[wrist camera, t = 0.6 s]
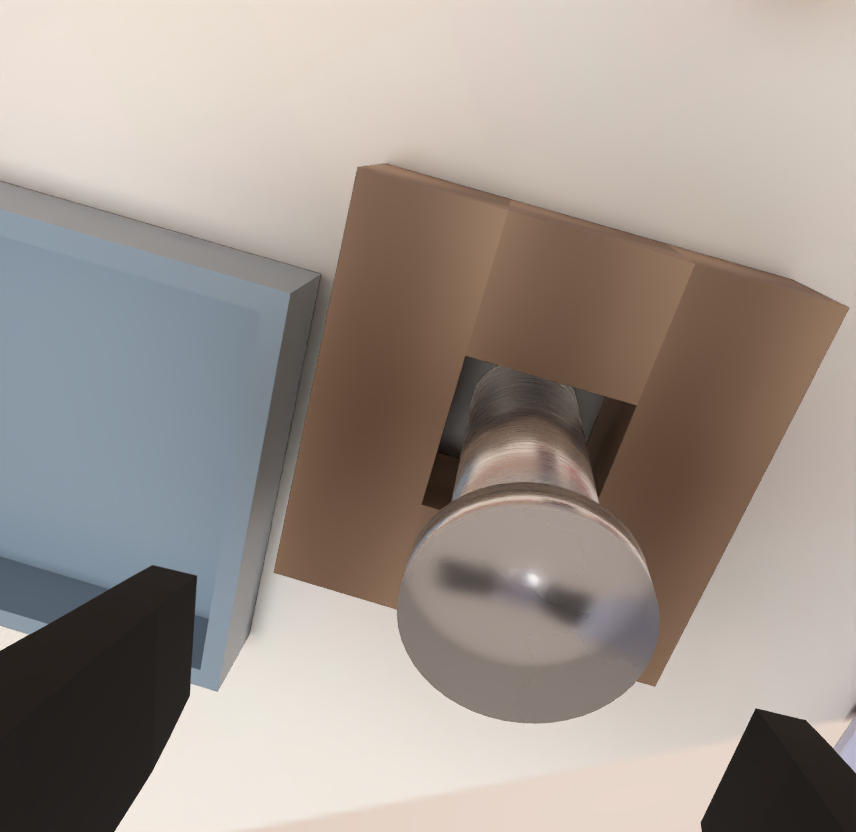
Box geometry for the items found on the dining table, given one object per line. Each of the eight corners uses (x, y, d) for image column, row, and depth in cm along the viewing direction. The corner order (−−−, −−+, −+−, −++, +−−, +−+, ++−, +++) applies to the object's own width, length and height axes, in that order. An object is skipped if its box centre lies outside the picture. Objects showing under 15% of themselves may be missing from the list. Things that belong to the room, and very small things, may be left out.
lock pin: (618, 363, 17) (703, 555, 9) (568, 491, 19) (605, 751, 11) (474, 322, 18) (433, 475, 9) (436, 451, 19) (372, 681, 11)
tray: (320, 273, 18) (290, 293, 15) (249, 634, 22) (217, 691, 20) (-124, 145, 18) (-220, 145, 15) (-103, 528, 22) (-175, 572, 20)
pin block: (793, 280, 16) (849, 308, 13) (636, 611, 20) (655, 686, 17) (385, 163, 16) (357, 167, 14) (307, 514, 20) (273, 572, 17)
